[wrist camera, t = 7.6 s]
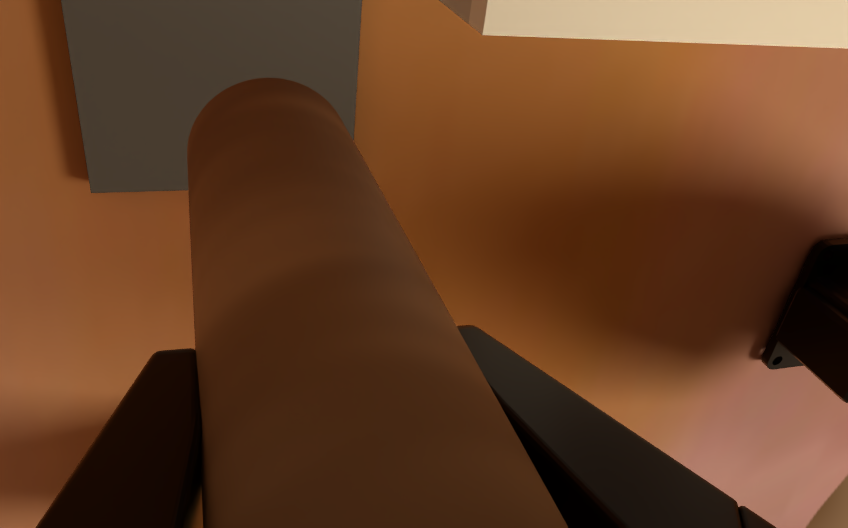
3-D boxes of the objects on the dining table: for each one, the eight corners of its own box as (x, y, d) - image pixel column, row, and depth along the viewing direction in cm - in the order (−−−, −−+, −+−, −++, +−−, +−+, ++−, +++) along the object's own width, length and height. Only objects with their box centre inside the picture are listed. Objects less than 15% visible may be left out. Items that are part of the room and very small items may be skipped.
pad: (360, -79, 18) (366, -76, 17) (346, 176, 21) (351, 185, 21) (49, -105, 16) (45, -102, 15) (93, 183, 19) (90, 193, 19)
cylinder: (353, 79, 11) (1020, 1051, 2) (345, 223, 13) (759, 1199, 4) (181, 76, 11) (231, 1505, 2) (191, 229, 12) (252, 1485, 3)
